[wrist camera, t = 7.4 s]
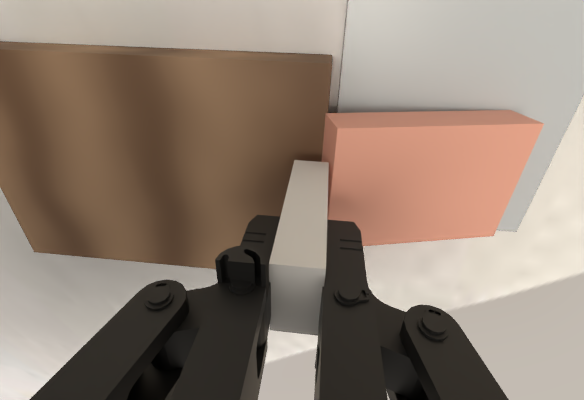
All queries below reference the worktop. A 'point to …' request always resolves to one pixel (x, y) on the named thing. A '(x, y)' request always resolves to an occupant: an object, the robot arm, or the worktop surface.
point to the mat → (470, 67)
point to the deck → (153, 145)
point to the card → (425, 171)
